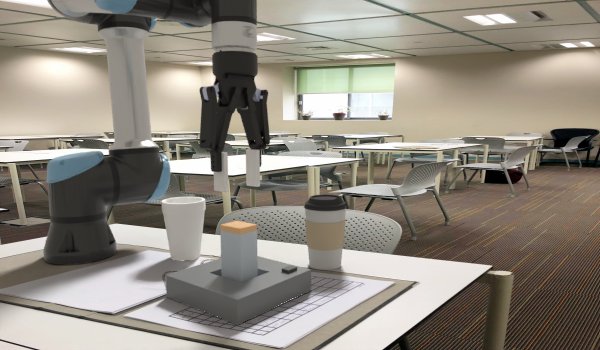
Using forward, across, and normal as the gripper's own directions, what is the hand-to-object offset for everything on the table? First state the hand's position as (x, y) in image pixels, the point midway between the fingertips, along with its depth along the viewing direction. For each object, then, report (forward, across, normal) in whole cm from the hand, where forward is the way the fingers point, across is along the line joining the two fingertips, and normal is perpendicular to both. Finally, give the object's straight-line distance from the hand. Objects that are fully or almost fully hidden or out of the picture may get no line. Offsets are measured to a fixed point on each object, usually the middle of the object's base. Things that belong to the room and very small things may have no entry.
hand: (237, 188), depth 81 cm
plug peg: (+18, 0, 0) cm, 18 cm away
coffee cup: (+19, +23, -2) cm, 30 cm away
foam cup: (+19, +8, +26) cm, 33 cm away
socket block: (+19, 0, 0) cm, 19 cm away
